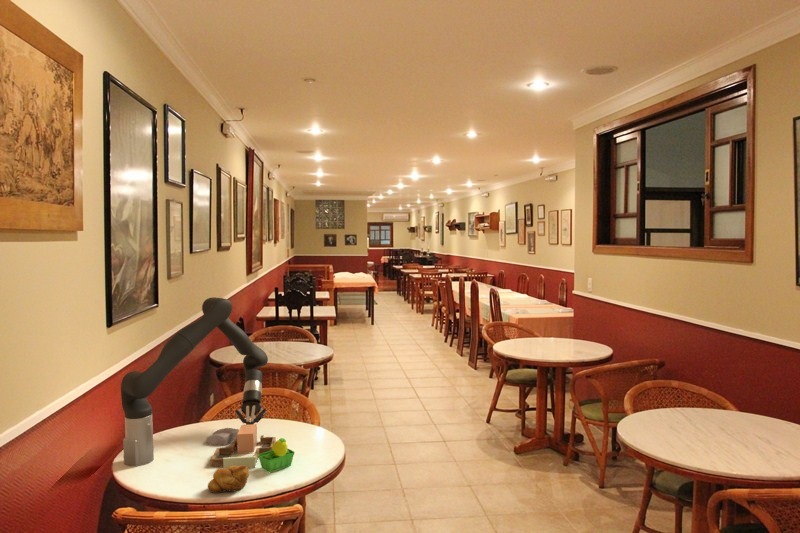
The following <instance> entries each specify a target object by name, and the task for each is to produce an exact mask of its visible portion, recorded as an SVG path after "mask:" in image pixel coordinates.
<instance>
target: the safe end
mask: <svg viewBox="0 0 800 533" xmlns="http://www.w3.org/2000/svg"><path fill="white" fill-rule="evenodd" d="M242 465H245V466H247V468H248V469H256V467H255V456H254V455H251V456H250V455H248V456H233V457H232V456H231V457H228V458H223V466H222V468H223V469H227V468H228V467H230V466H242Z"/></svg>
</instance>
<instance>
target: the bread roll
mask: <svg viewBox="0 0 800 533" xmlns="http://www.w3.org/2000/svg"><path fill="white" fill-rule="evenodd" d="M249 474H250V473H249V468H247V466H245V465H242V466H230V467H228V468H227V469H223V467H222V468H218V469H216V470H215V471H214V473H213V475H212V478H213V479H211V480H210V481H209V482H208V483H207V488H208V491H209V492H212V493H222V492H235V491H236V492H237V491H238V490H241V488H242V489H243V488H244V487H246V485H247V483H248V479H249V476H250V475H249Z"/></svg>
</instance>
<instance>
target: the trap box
mask: <svg viewBox="0 0 800 533" xmlns="http://www.w3.org/2000/svg"><path fill="white" fill-rule="evenodd" d="M259 439H260V440H259V442H260V445H261V446H260V447H256V448H255V451H254V455H253V456H255V466H257V464H258V461H257V460H259V458H258V454H262V453H265V452H268V451H272V446H273V444H274V443H275V442H277V441H276V439H277V438H276V436H274V437H273V436H266V437H265V436H264V435H263V434H261V435H260V438H259ZM231 443H232V444H231V446H228V447H227V446H225V447H217V448H216V450H215V452H214V453H213V455H212V457H211V459H210V465H211V467H214V468H215V467H223V458H228V457H230V456H231V455H233V454H235V451H236V449H237V437H235V439H234V440H233V441H232V442H231ZM256 463H257V464H256Z"/></svg>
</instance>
